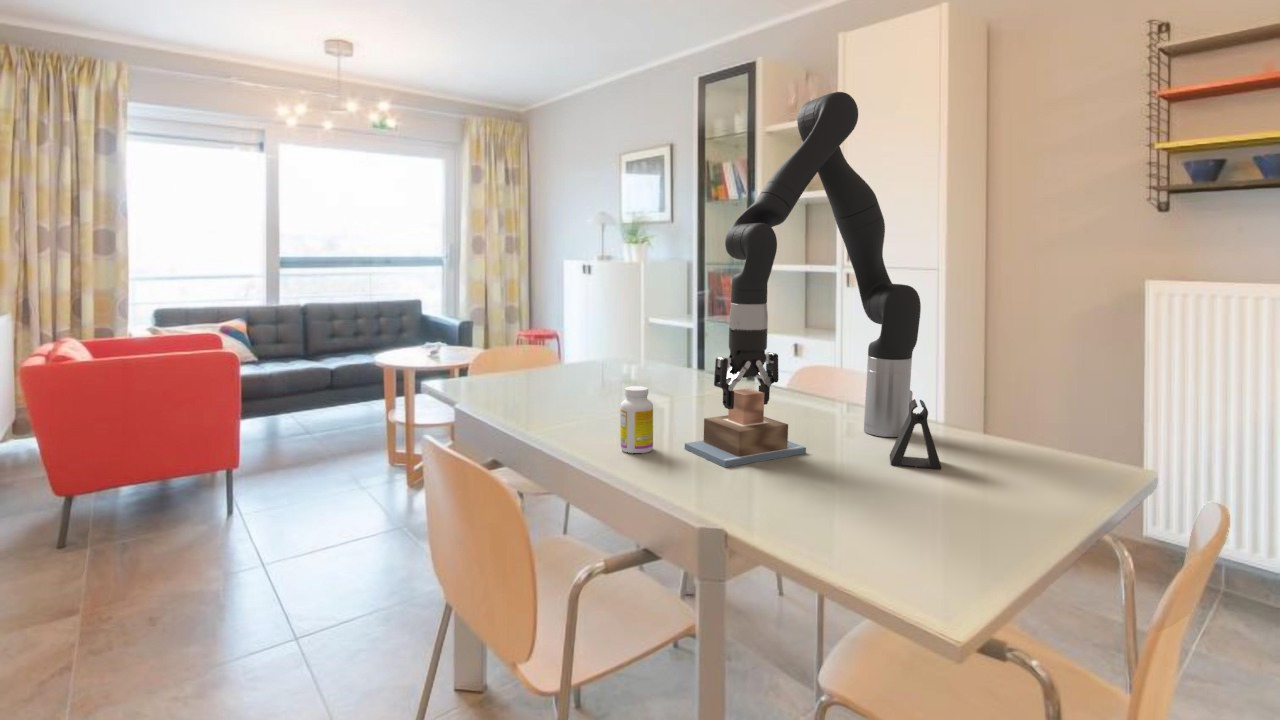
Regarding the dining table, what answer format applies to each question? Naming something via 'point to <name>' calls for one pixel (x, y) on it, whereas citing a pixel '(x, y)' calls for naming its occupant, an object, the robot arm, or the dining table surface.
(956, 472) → the dining table surface
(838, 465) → the dining table surface
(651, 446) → the supplement bottle
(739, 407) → the terracotta block
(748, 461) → the base
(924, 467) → the phone stand
